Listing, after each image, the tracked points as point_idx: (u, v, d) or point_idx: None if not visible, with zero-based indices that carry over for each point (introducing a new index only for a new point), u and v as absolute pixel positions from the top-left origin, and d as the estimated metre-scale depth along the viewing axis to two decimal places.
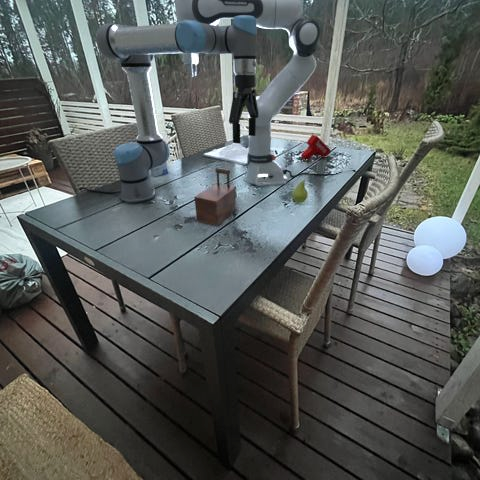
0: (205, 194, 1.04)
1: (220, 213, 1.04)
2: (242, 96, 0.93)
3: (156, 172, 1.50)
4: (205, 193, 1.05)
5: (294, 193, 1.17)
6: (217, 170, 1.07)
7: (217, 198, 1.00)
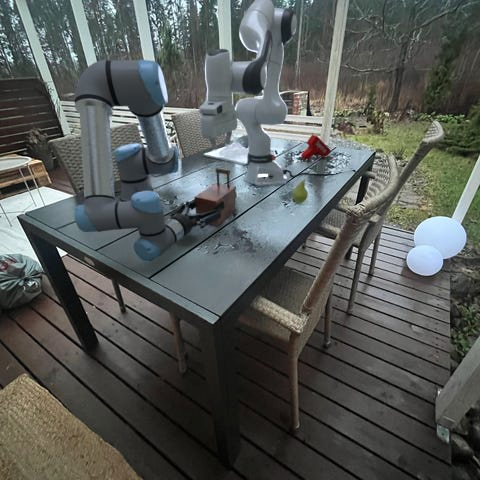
0: (205, 194, 1.04)
1: None
2: None
3: None
4: (205, 193, 1.05)
5: (294, 193, 1.17)
6: (217, 170, 1.07)
7: (217, 198, 1.00)
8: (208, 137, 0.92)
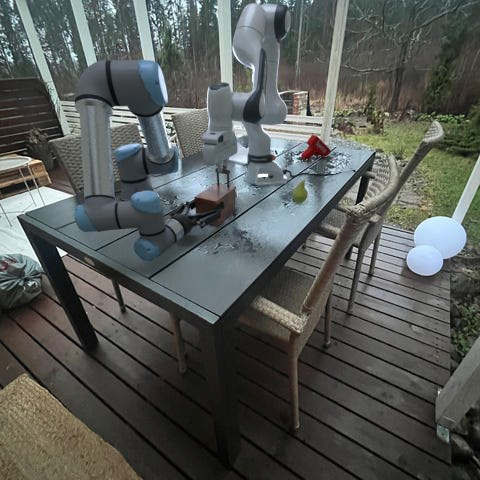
0: (205, 194, 1.04)
1: None
2: None
3: None
4: (205, 193, 1.05)
5: (294, 193, 1.17)
6: (217, 170, 1.07)
7: (217, 198, 1.00)
8: (210, 164, 0.97)
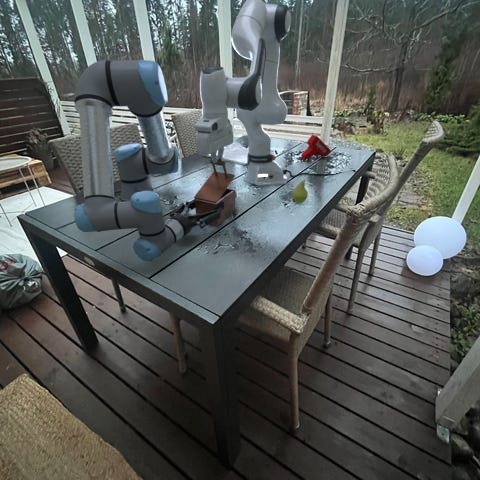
0: (204, 191, 1.03)
1: (220, 213, 1.03)
2: None
3: None
4: (204, 190, 1.03)
5: (294, 193, 1.17)
6: (212, 162, 1.02)
7: (217, 197, 1.00)
8: (204, 154, 0.92)
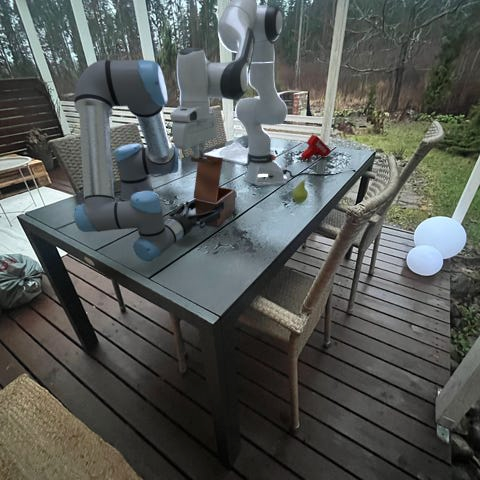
0: (200, 189, 1.00)
1: (220, 213, 1.03)
2: None
3: None
4: (199, 186, 1.00)
5: (294, 193, 1.17)
6: (193, 161, 0.92)
7: (214, 196, 0.98)
8: (181, 147, 0.80)
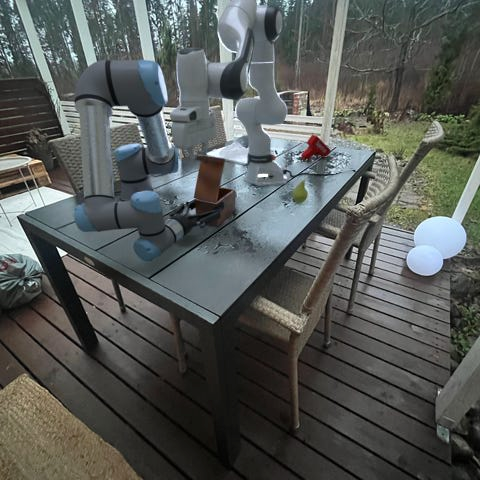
0: (200, 189, 1.00)
1: (220, 213, 1.03)
2: None
3: None
4: (200, 186, 1.00)
5: (294, 193, 1.17)
6: (196, 159, 0.93)
7: (215, 195, 0.98)
8: (180, 147, 0.80)
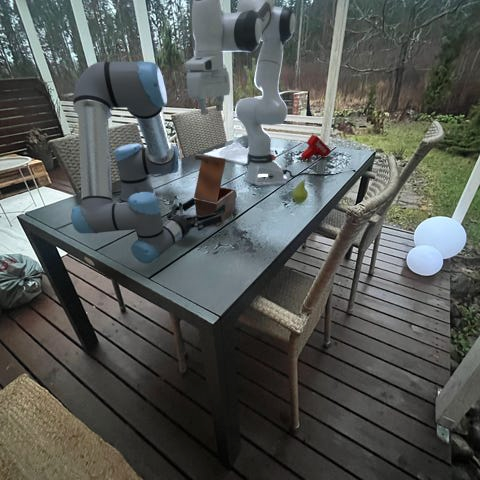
0: (201, 189, 1.01)
1: None
2: None
3: None
4: (200, 186, 1.01)
5: (294, 193, 1.17)
6: (197, 159, 0.94)
7: (215, 195, 0.98)
8: (196, 98, 0.81)
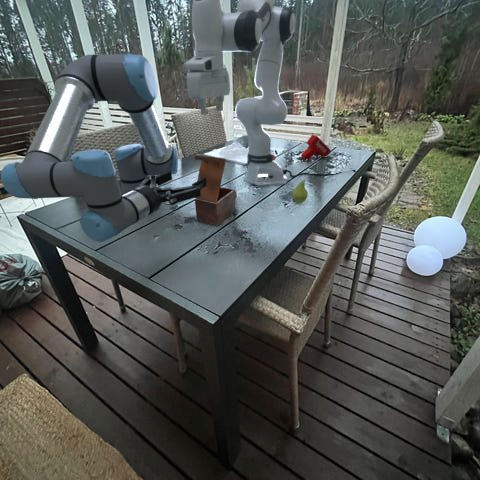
0: None
1: (220, 213, 1.04)
2: None
3: None
4: None
5: (294, 193, 1.17)
6: (197, 159, 0.94)
7: (215, 195, 0.98)
8: (196, 98, 0.81)
